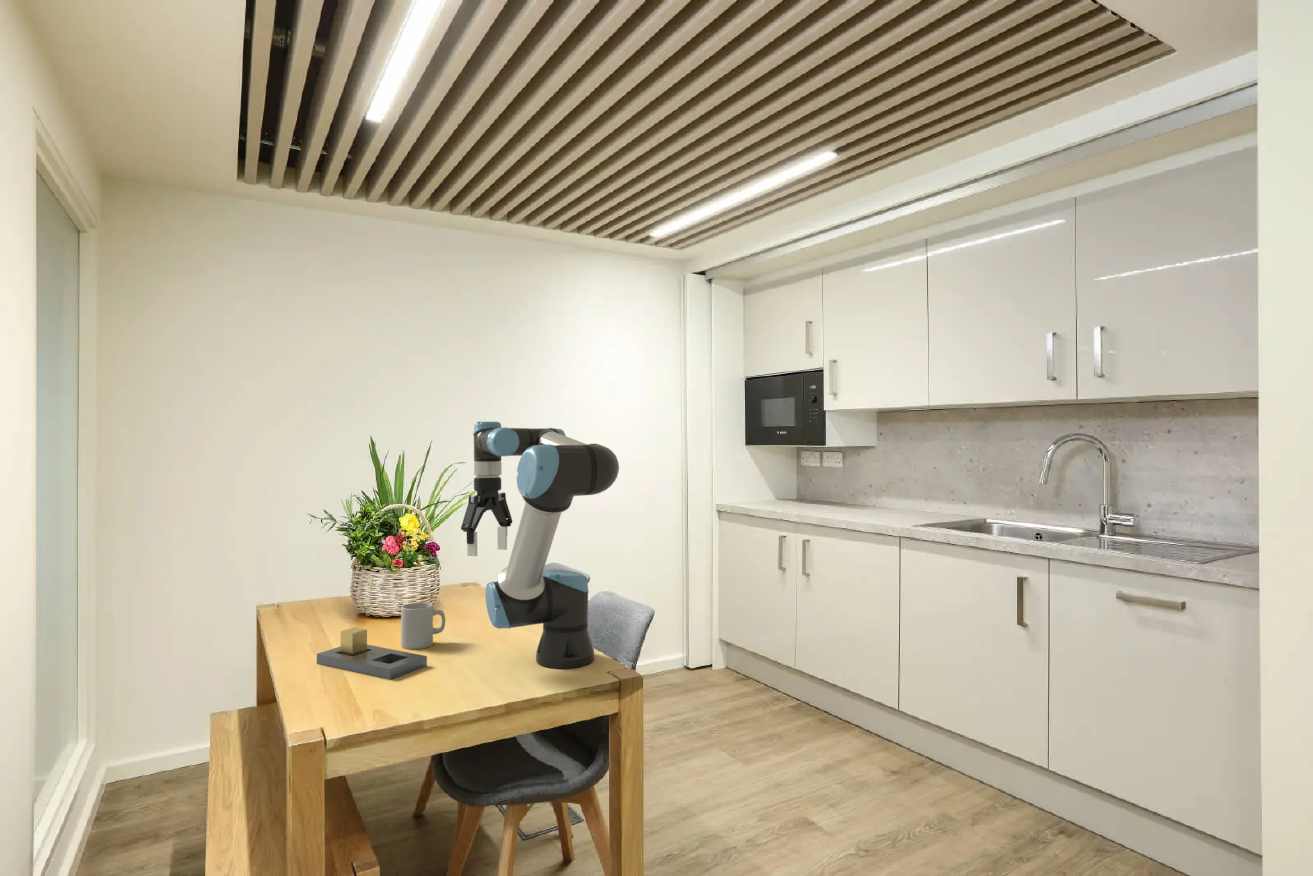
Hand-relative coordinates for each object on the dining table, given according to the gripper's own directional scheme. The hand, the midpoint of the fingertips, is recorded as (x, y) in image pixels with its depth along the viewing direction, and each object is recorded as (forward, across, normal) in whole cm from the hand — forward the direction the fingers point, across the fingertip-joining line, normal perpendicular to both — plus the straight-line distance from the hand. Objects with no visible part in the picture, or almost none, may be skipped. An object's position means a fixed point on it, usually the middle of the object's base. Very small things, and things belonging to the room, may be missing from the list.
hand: (487, 552), depth 210 cm
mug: (+26, +7, -17) cm, 32 cm away
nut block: (+26, +27, -22) cm, 43 cm away
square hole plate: (+26, +27, -16) cm, 41 cm away
